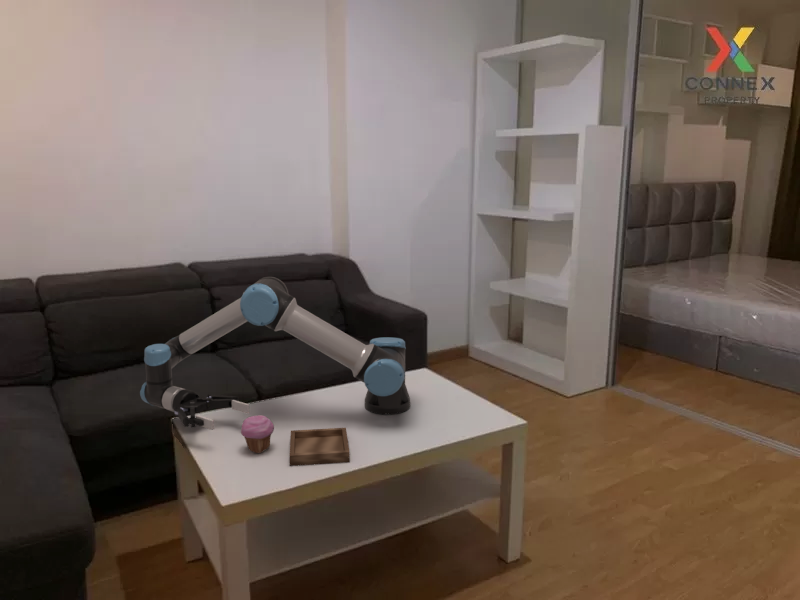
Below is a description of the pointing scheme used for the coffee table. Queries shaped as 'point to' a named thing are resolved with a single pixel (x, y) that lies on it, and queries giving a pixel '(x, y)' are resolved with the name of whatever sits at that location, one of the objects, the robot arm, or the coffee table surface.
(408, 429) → the coffee table surface
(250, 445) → the cupcake
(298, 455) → the serving tray
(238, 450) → the coffee table surface
